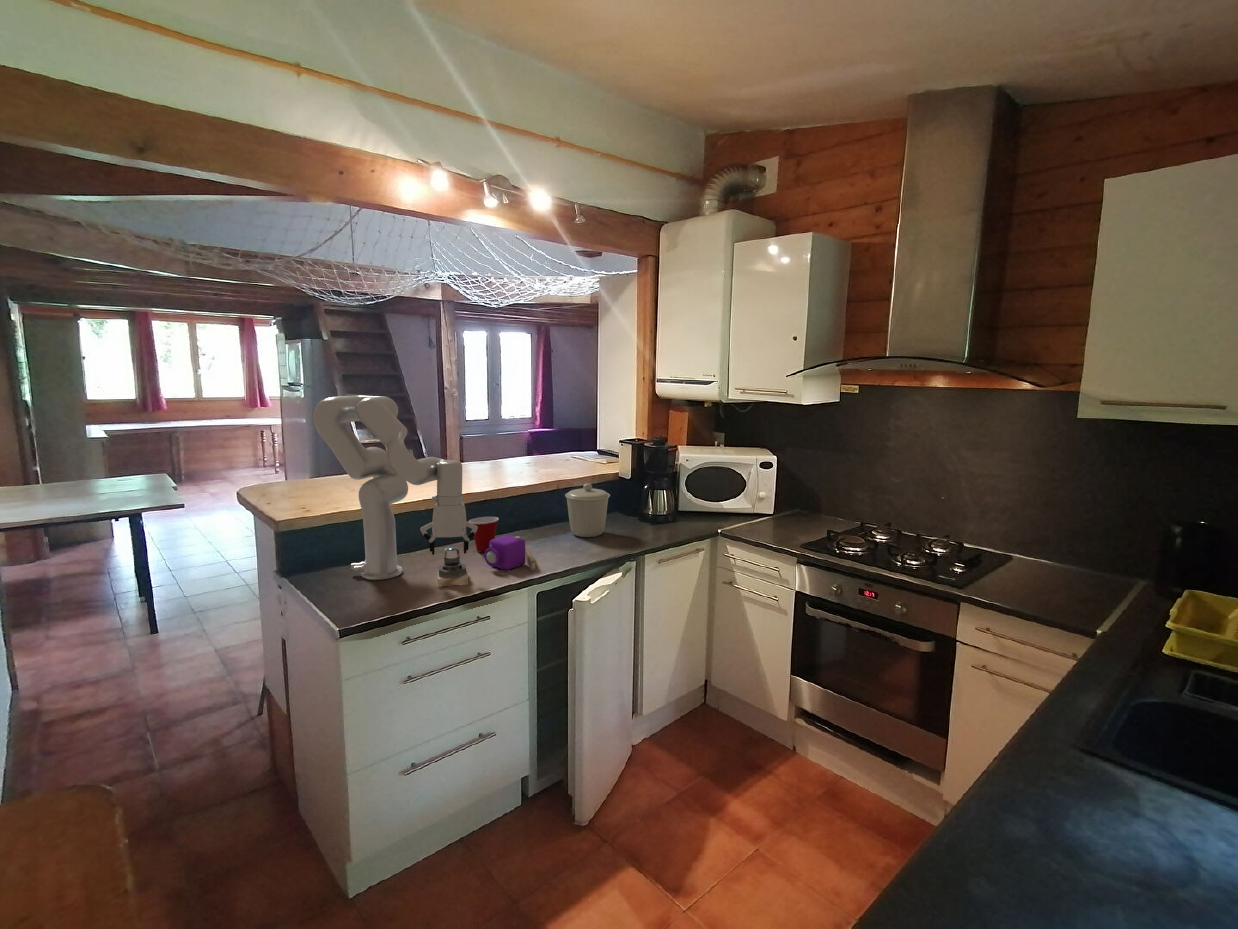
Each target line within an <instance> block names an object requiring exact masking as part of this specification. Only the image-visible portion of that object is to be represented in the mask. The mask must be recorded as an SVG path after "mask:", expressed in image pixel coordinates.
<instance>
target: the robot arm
mask: <svg viewBox="0 0 1238 929" xmlns="http://www.w3.org/2000/svg"><path fill="white" fill-rule="evenodd" d="M398 414H399V408H398V405H397V403H396V402H395V400H394V399H392V398H390V397H389V396H379V395H378V396H377V395H375V396H373V395H343V396H331V397H326V398H323V399H321V400H320V401H319V402H318V403H317V404H316V406H315V408H314V411H313V424H314V427H315V430H316V431H317V433H318V434H319V436H320V437H321V439H323V441H324V443H325V444H327V446H328V447H329V448H330V449H331V451H332V453H333V455H334V456H335V458H336V459H337V461H338V462H339V464H340V465H341V467H342V468H343V469H344V471H345V472H346V473H347V475H348V477H350V478H351V479H353V480H356V481H358V480H365V479H369V478H371V479H369V480H367V481H364V483H363V484H362V485H361V486H360V488H359V490H358V500H359V505H360V509H361V514H362V522H363V537H364V554H365V556H364V557H365V559H364V561H361V562H352V563H351V564H350V569H351V570H353V571H354V572H355V571H360V576H361V578H363V579H364V580H370V581H371V580H372V581H378V580H379V581H380V580H388V579H393V578H395V577H398V576H399V575H401V574H402V573H403V567H402V566H400V565H399V564H398V555H397V554H398V553H397V552H398V551H397V534H396V529H397V528H396V518H395V515H394V512H393V510H392V506H391V505H392V504H395V503H398V502H400V501H402V500H404V499H405V498H406V496H407V495H408V492H409V484H411V485H413V486H421V485H425V484H427V483H431V482H435V481H436V495H434V496H432V497H431V501H432V502H436V503H434V507H433V512H432V522H429V523H427V524H425V525H423V526H421V527H420V528H419V530H420V532H421V534H422V536H423V538H424V539H426V540H427V541H428V543H429V552H431V555H432V556H434V555H435V542H436V541H435V540H436V538H460V537H462V538H463V554H464V555H465V554H467V551H469V544H470V543H469V542H470V540H471V539H472V538H474V535H475V533H476V531H477V529H478V527H477V526H476V525H474V524H472V523H470V522H469V521H467V512H466V506H465V504H464V503H463V464H462V462H461V461H460V460H457V459H443V458H441V457H436V456H429V457H428V456H427V457H423V458H419V459H417V458H416V457H415V456H414V455H413V454H412V453H411V452H410V451H409V450H408V448H407V446H406V444H405V439H406V437H407V434H408V429H407V427H406V426H405V424H403V422H401V421H400V420H399V419H398ZM352 422H361V423H362V424H363V425H364V426H365V428H367V429H368V431H370V432H371V433H372V434H373V435H374V436H375V438H376V439H378V440H379V442H380V443H381V444H382V445H383V446H384V447H385V449H383V448H381V447H376V446H369V447H364V445H363V444H362V442H361V441H360V440H359V438H358V437H357V435H356V434H355V433H354V432H353V431H352V430H350V429H349V428H348V427H346V425H345V424H346V423H352ZM408 483H409V484H408ZM467 528H469V529H471V531H470V532H469V533H467ZM429 529H431V532H432V534H429V533H428V532H427V530H429Z"/></svg>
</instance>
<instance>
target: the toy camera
mask: <svg viewBox="0 0 1238 929" xmlns="http://www.w3.org/2000/svg"><path fill="white" fill-rule="evenodd" d="M525 548H526V540H525V539H524V538H523V537H520V536H519V535H518V536H517V535H516V536H513V535H511V534H510V535H508V534H507V535H503V536H500V537H495V539H492V540H491V541H490V543H489V548H488V549H486V551H485V553H484V560H485V562H486V564H487V565H488V566H489V567H491V568H493V567H494V568H499V569H502V570H511V569H515V568H518V567H520V566H522V565H524V564H525V563H526V559H525Z"/></svg>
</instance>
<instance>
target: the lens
mask: <svg viewBox="0 0 1238 929" xmlns="http://www.w3.org/2000/svg"><path fill="white" fill-rule="evenodd" d="M443 553H444V555H443V565H445V570H447V571H453V570H459V569H460V566H459V564H460V563H461V556H460V548H459V547H457V546H449V547H445V548H443Z"/></svg>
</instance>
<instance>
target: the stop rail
mask: <svg viewBox="0 0 1238 929" xmlns="http://www.w3.org/2000/svg"><path fill="white" fill-rule="evenodd" d="M525 558H526V559H525V562H526V563H527V566H528V565H529V566H528V568H529V569H530V571H535V570H536V559H535V557H534V555H533V553H532V550H531V549H530V548H529V547H525Z"/></svg>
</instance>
